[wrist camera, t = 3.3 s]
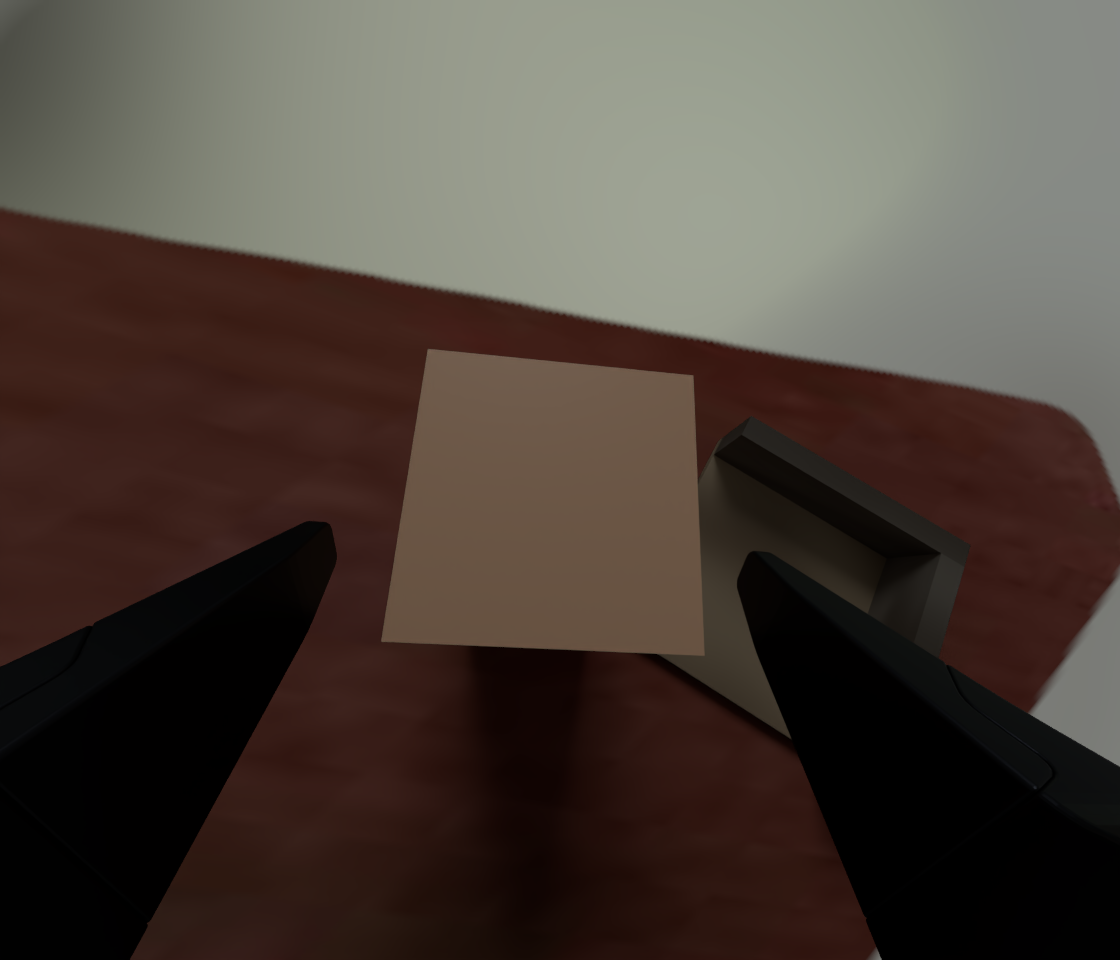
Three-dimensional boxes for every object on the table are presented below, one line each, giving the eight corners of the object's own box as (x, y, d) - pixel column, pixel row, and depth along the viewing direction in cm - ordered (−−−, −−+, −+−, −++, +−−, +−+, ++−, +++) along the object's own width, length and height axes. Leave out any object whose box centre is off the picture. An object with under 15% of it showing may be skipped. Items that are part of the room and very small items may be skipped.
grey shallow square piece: (833, 766, 16) (896, 801, 14) (618, 629, 17) (638, 636, 14) (905, 552, 19) (970, 545, 16) (718, 441, 20) (751, 416, 17)
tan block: (589, 618, 17) (704, 656, 7) (467, 611, 17) (381, 641, 6) (593, 500, 18) (693, 375, 8) (480, 492, 18) (428, 348, 8)
